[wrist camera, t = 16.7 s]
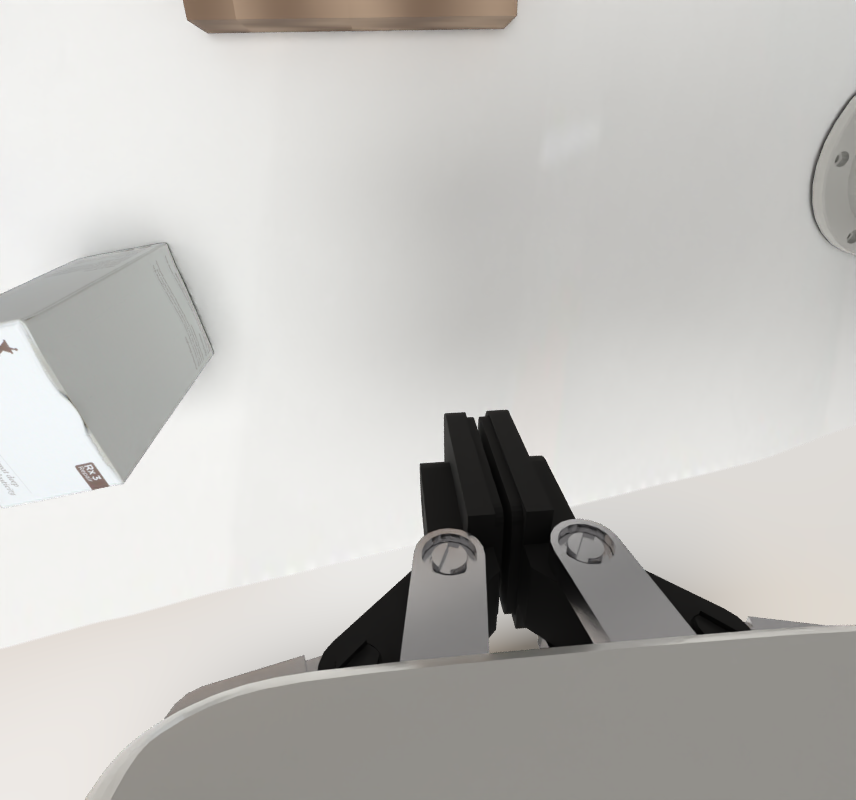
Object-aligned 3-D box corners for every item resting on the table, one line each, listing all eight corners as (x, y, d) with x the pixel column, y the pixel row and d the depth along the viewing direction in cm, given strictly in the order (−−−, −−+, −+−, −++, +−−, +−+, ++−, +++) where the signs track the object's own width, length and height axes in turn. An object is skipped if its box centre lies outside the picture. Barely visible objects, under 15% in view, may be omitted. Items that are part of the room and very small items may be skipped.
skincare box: (80, 257, 30) (-153, 341, 17) (173, 239, 30) (10, 310, 17) (140, 374, 34) (-12, 516, 21) (222, 359, 34) (121, 492, 21)
